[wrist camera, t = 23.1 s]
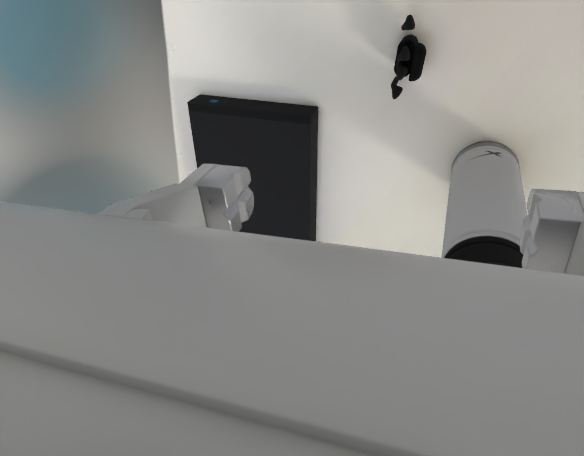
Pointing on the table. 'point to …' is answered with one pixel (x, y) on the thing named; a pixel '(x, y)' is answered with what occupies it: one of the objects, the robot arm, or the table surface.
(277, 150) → the external hard drive
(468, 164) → the travel mug
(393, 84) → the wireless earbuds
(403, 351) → the robot arm
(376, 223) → the table surface
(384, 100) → the table surface
